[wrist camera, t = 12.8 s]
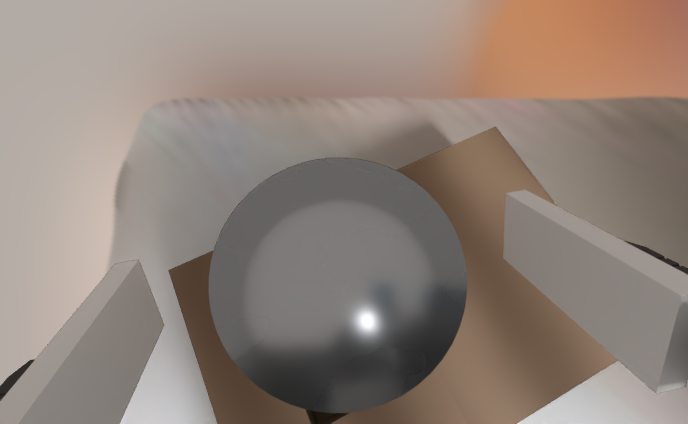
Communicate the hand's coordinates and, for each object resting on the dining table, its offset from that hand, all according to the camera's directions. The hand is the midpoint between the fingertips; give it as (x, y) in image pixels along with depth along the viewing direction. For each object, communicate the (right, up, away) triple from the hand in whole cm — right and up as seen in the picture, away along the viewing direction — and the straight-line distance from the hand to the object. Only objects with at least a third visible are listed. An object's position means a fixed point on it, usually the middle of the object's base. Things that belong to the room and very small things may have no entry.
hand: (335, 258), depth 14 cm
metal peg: (0, -5, +5) cm, 7 cm away
